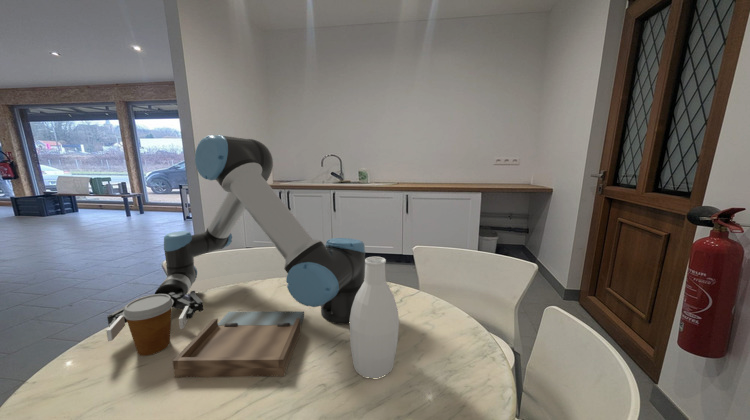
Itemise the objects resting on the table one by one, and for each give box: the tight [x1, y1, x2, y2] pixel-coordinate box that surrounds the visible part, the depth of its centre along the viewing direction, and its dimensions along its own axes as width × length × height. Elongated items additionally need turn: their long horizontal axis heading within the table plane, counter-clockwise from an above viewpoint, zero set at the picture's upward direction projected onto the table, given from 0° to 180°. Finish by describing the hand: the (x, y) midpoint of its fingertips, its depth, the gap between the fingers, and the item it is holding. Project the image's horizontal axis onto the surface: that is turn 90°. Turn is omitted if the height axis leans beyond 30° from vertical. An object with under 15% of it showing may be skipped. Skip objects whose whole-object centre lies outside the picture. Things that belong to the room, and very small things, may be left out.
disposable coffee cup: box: [123, 293, 174, 357], centre depth 67 cm, size 10×10×12 cm
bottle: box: [349, 256, 400, 378], centre depth 61 cm, size 11×11×25 cm
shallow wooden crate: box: [172, 310, 305, 378], centre depth 70 cm, size 23×23×4 cm
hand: (146, 329), depth 65 cm, fingers open, 13 cm apart
